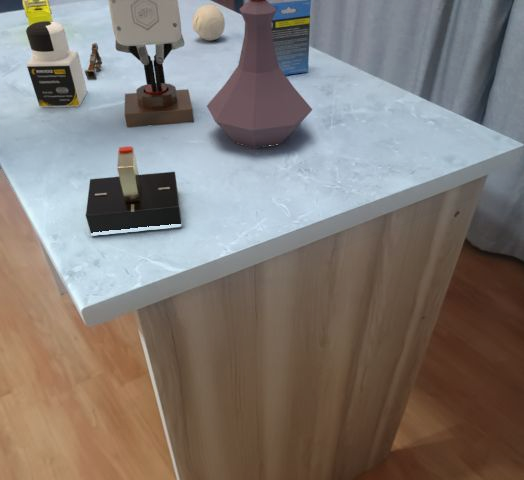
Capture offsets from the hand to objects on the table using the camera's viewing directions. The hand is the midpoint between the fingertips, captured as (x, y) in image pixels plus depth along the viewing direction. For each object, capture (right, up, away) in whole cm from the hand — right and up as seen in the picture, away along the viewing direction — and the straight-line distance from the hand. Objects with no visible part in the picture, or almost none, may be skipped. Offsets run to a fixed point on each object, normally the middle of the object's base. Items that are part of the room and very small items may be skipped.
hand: (156, 88), depth 86 cm
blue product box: (+22, +12, +17) cm, 30 cm away
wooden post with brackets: (-16, +12, +18) cm, 26 cm away
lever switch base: (+1, -26, -19) cm, 32 cm away
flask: (+17, -9, -3) cm, 20 cm away
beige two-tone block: (+1, -24, -21) cm, 32 cm away
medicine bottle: (-18, +2, +8) cm, 20 cm away
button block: (0, -3, +3) cm, 4 cm away
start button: (0, -1, +1) cm, 2 cm away
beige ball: (+5, +27, +32) cm, 43 cm away
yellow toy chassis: (-34, +32, +37) cm, 59 cm away
